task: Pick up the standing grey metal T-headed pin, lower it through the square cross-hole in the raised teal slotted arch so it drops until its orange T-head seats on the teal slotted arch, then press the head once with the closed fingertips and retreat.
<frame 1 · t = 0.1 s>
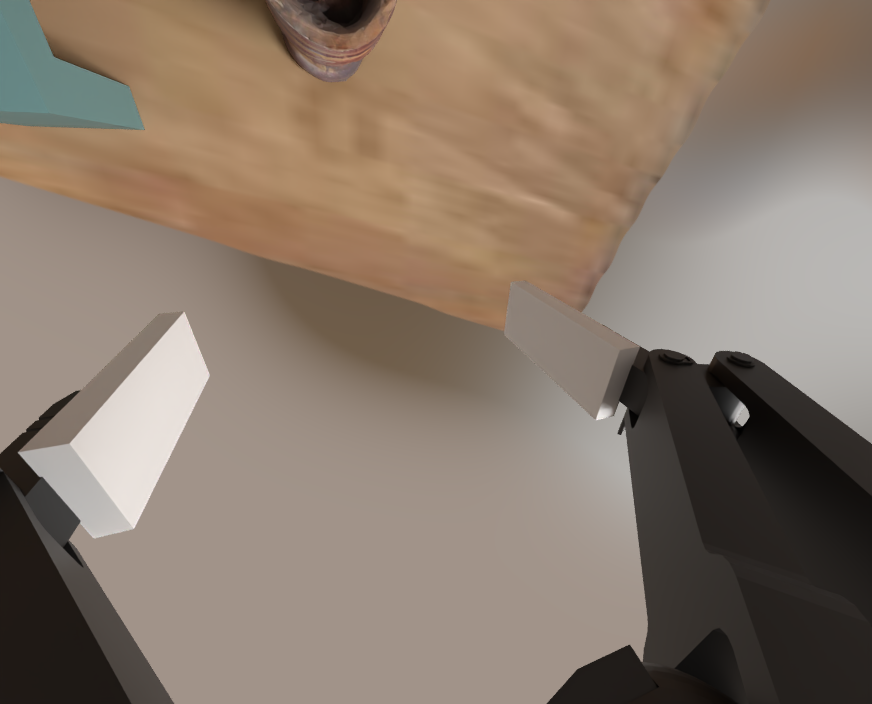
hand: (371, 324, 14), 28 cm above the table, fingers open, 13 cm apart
mortar and pestle: (306, 11, 28), on the table
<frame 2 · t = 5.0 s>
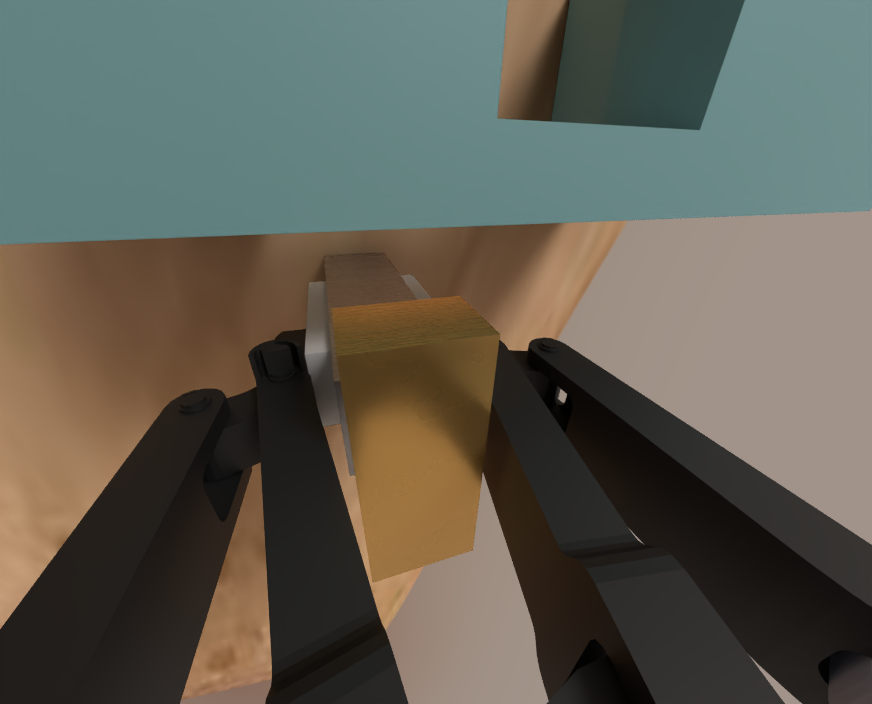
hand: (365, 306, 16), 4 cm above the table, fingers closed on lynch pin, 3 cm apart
teal slotted arch: (425, 88, 15), on the table
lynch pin: (357, 283, 19), on the table, touching gripper
when the fingers open (13 cm above the table, at t = 8.7 s): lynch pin drops 9 cm, resting on teal slotted arch.
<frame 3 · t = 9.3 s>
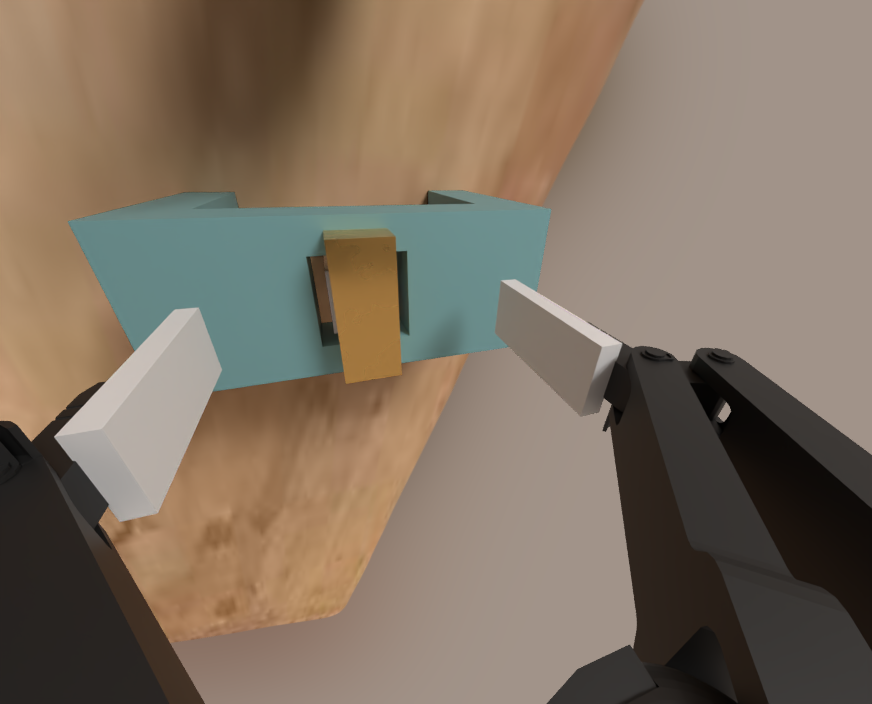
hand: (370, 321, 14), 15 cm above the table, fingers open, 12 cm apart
teal slotted arch: (345, 246, 27), on the table
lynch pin: (345, 247, 26), resting on teal slotted arch
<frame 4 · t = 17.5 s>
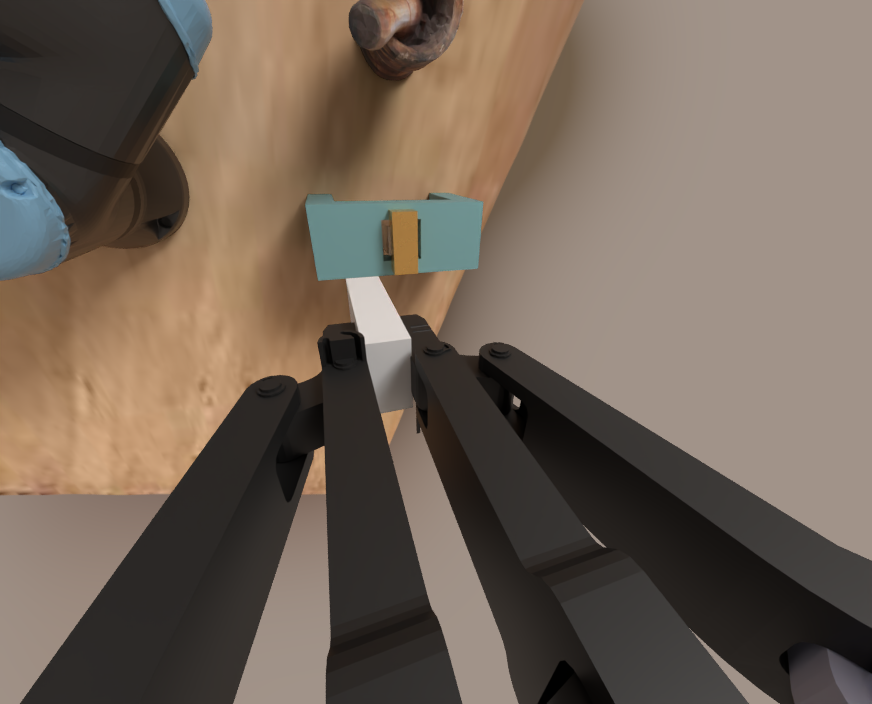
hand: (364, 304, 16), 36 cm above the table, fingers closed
teal slotted arch: (383, 223, 49), on the table
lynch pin: (384, 224, 48), resting on teal slotted arch
mortar and pestle: (381, 55, 40), on the table
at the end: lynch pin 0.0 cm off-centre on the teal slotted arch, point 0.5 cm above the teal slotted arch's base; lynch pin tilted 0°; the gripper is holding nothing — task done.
